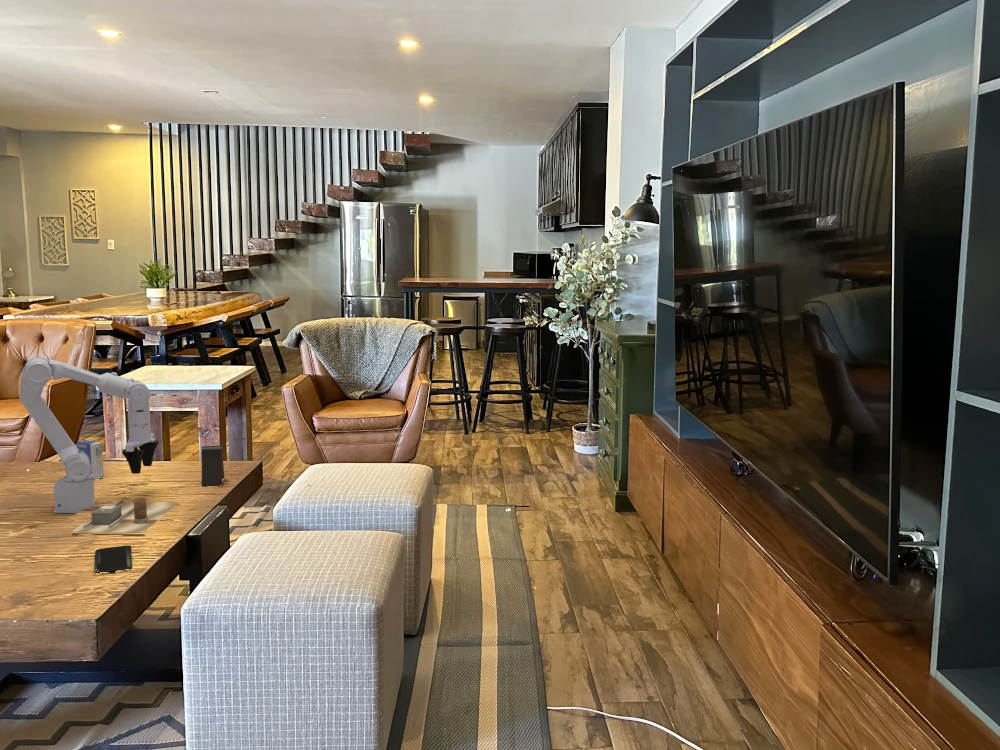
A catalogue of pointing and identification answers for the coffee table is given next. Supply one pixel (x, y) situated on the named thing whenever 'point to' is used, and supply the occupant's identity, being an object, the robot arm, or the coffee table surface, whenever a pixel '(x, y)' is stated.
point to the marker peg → (140, 511)
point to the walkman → (93, 456)
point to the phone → (113, 559)
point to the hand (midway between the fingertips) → (141, 469)
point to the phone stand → (212, 466)
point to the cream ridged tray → (128, 519)
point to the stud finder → (106, 514)
